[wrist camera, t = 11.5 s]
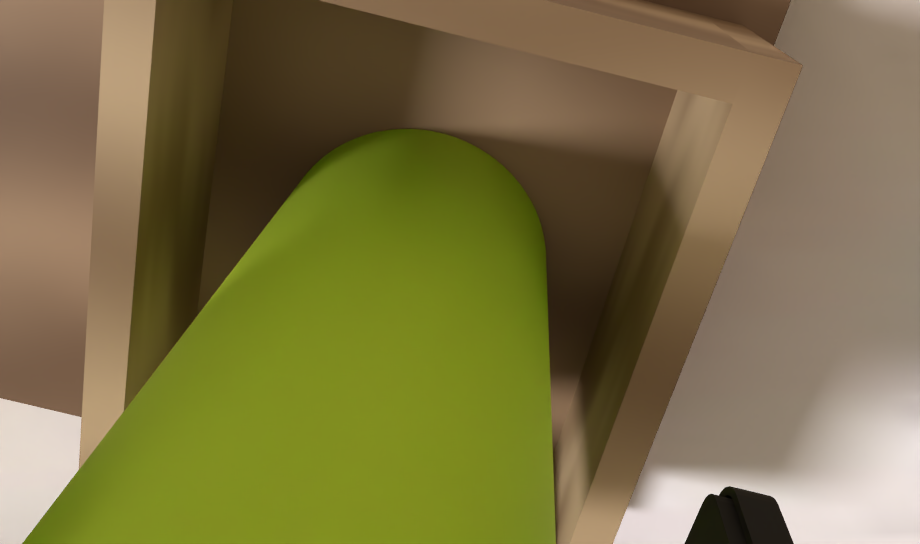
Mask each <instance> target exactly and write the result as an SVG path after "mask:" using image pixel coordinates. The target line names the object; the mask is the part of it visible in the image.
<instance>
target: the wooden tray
mask: <svg viewBox="0 0 920 544" xmlns="http://www.w3.org/2000/svg"><path fill="white" fill-rule="evenodd" d="M790 1H791V0H0V398H3V399H7V400H11V401H15V402H20V403H24V404H28V405H33V406H37V407H41V408H45V409H50V410H54V411H58V412H62V413H67V414H71V415H75V416H79V417H82V421H81V440H80V458H79V469H80V468H81V467H82V465H83V464H84V463H85V461H86V460H87V459H88V457H89V456H90V455H91V454H92V452H93V451H94V450H95V448H96V447H97V446H98V444H99V443H100V442H101V441H102V439H103V438H104V437H105V435H106V434H107V433H108V431H109V430H110V429H111V428H112V426H113V425H114V424H115V422H116V421H117V420H118V418H119V417H120V416H121V414H122V413H123V412H124V411H125V409H126V408H127V407H128V405H129V404H130V403H131V401H132V400H133V399H134V398H135V396H136V395H137V394H138V392H139V391H140V390H141V388H142V387H143V386H144V385H145V383H146V382H147V381H148V379H149V378H150V377H151V375H152V374H153V373H154V372H155V370H156V369H157V368H158V366H159V365H160V364H161V362H162V361H163V360H164V358H165V357H166V356H167V355H168V353H169V352H170V351H171V349H172V348H173V347H174V345H175V344H176V343H177V342H178V340H179V339H180V338H181V336H182V335H183V334H184V332H185V331H186V330H187V329H188V327H189V326H190V325H191V323H192V322H193V321H194V319H195V318H196V317H197V316H198V314H199V313H200V312H201V310H202V309H203V308H204V306H205V305H206V304H207V302H208V301H209V300H210V299H211V297H212V296H213V295H214V293H215V292H216V291H217V289H218V288H219V287H220V286H221V284H222V283H223V282H224V280H225V279H226V278H227V276H228V275H229V274H230V273H231V271H232V270H233V269H234V267H235V266H236V265H237V263H238V262H239V261H240V259H241V258H242V257H243V256H244V254H245V253H246V252H247V250H248V249H249V248H250V246H251V245H252V244H253V243H254V241H255V240H256V239H257V237H258V236H259V235H260V233H261V232H262V231H263V230H264V228H265V227H266V226H267V224H268V223H269V222H270V220H271V219H272V218H273V217H274V215H275V214H276V213H277V211H278V210H279V209H280V207H281V206H282V205H283V203H284V202H285V201H286V200H287V198H288V197H289V196H290V194H291V193H292V192H293V190H294V189H295V188H296V187H297V185H298V184H299V183H300V181H301V180H302V179H303V177H304V176H305V175H306V174H307V173H308V171H309V170H310V169H311V168H312V167H313V166H314V165H315V164H316V163H317V162H318V161H319V160H321V159H322V158H323V157H324V156H325V155H327V154H328V153H329V152H331V151H332V150H334V149H335V148H337V147H339V146H341V145H342V144H344V143H346V142H348V141H351V140H353V139H355V138H358V137H361V136H364V135H367V134H370V133H374V132H379V131H384V130H392V129H420V130H428V131H434V132H439V133H443V134H446V135H450V136H453V137H456V138H458V139H461V140H463V141H466V142H468V143H470V144H472V145H474V146H476V147H478V148H479V149H481V150H483V151H484V152H486V153H487V154H489V155H490V156H492V157H493V158H494V159H496V160H497V161H498V162H499V163H500V164H502V165H503V166H504V167H505V168H506V169H507V170H508V171H509V172H510V173H511V174H512V175H513V176H514V177H515V179H516V180H517V181H518V182H519V183H520V185H521V186H522V187H523V189H524V190H525V192H526V193H527V195H528V197H529V198H530V200H531V202H532V204H533V206H534V208H535V210H536V212H537V215H538V217H539V220H540V223H541V227H542V230H543V235H544V240H545V248H546V270H547V299H548V328H549V357H550V386H551V415H552V444H553V473H554V502H555V531H556V544H613V541H614V539H615V536H616V534H617V531H618V529H619V526H620V524H621V521H622V519H623V516H624V514H625V511H626V509H627V506H628V504H629V501H630V499H631V496H632V494H633V491H634V489H635V486H636V483H637V481H638V478H639V476H640V473H641V471H642V468H643V466H644V463H645V461H646V458H647V456H648V453H649V451H650V448H651V446H652V443H653V441H654V438H655V436H656V433H657V431H658V428H659V426H660V423H661V421H662V418H663V416H664V413H665V411H666V408H667V406H668V403H669V401H670V398H671V396H672V393H673V391H674V388H675V386H676V383H677V381H678V378H679V375H680V373H681V370H682V368H683V365H684V363H685V360H686V358H687V355H688V353H689V350H690V348H691V345H692V343H693V340H694V338H695V335H696V333H697V330H698V328H699V325H700V323H701V320H702V318H703V315H704V313H705V310H706V308H707V305H708V303H709V300H710V298H711V295H712V293H713V290H714V288H715V285H716V283H717V280H718V278H719V275H720V273H721V270H722V267H723V265H724V262H725V260H726V257H727V255H728V252H729V250H730V247H731V245H732V242H733V240H734V237H735V235H736V232H737V230H738V227H739V225H740V222H741V220H742V217H743V215H744V212H745V210H746V207H747V205H748V202H749V200H750V197H751V195H752V192H753V190H754V187H755V185H756V182H757V180H758V177H759V175H760V172H761V170H762V167H763V165H764V162H765V159H766V157H767V154H768V152H769V149H770V147H771V144H772V142H773V139H774V137H775V134H776V132H777V129H778V127H779V124H780V122H781V119H782V117H783V114H784V112H785V109H786V107H787V104H788V102H789V99H790V97H791V94H792V92H793V89H794V87H795V84H796V82H797V79H798V77H799V74H800V72H801V69H802V67H803V65H801V64H800V63H798V62H797V61H795V60H794V59H792V58H791V57H789V56H788V55H786V54H785V53H783V52H782V51H780V50H779V49H777V48H776V47H774V44H775V41H776V38H777V36H778V33H779V30H780V28H781V25H782V22H783V20H784V17H785V15H786V12H787V9H788V7H789V4H790Z"/></svg>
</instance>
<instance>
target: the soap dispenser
mask: <svg viewBox="0 0 920 544" xmlns="http://www.w3.org/2000/svg"><path fill="white" fill-rule="evenodd" d="M22 544H556V531H555V502H554V473H553V444H552V415H551V386H550V357H549V328H548V299H547V270H546V248H545V240H544V235H543V230H542V227H541V223H540V220H539V217H538V215H537V212H536V210H535V208H534V206H533V204H532V202H531V200H530V198H529V197H528V195H527V193H526V192H525V190H524V189H523V187H522V186H521V185H520V183H519V182H518V181H517V180H516V179H515V177H514V176H513V175H512V174H511V173H510V172H509V171H508V170H507V169H506V168H505V167H504V166H503V165H502V164H500V163H499V162H498V161H497V160H496V159H494V158H493V157H492V156H490V155H489V154H487V153H486V152H484V151H483V150H481V149H479V148H478V147H476V146H474V145H472V144H470V143H468V142H466V141H463V140H461V139H458V138H456V137H453V136H450V135H446V134H443V133H439V132H434V131H428V130H420V129H392V130H384V131H379V132H374V133H370V134H367V135H364V136H361V137H358V138H355V139H353V140H351V141H348V142H346V143H344V144H342V145H341V146H339V147H337V148H335V149H334V150H332V151H331V152H329V153H328V154H327V155H325V156H324V157H323V158H322V159H321V160H319V161H318V162H317V163H316V164H315V165H314V166H313V167H312V168H311V169H310V170H309V171H308V173H307V174H306V175H305V176H304V177H303V179H302V180H301V181H300V183H299V184H298V185H297V187H296V188H295V189H294V190H293V192H292V193H291V194H290V196H289V197H288V198H287V200H286V201H285V202H284V203H283V205H282V206H281V207H280V209H279V210H278V211H277V213H276V214H275V215H274V217H273V218H272V219H271V220H270V222H269V223H268V224H267V226H266V227H265V228H264V230H263V231H262V232H261V233H260V235H259V236H258V237H257V239H256V240H255V241H254V243H253V244H252V245H251V246H250V248H249V249H248V250H247V252H246V253H245V254H244V256H243V257H242V258H241V259H240V261H239V262H238V263H237V265H236V266H235V267H234V269H233V270H232V271H231V273H230V274H229V275H228V276H227V278H226V279H225V280H224V282H223V283H222V284H221V286H220V287H219V288H218V289H217V291H216V292H215V293H214V295H213V296H212V297H211V299H210V300H209V301H208V302H207V304H206V305H205V306H204V308H203V309H202V310H201V312H200V313H199V314H198V316H197V317H196V318H195V319H194V321H193V322H192V323H191V325H190V326H189V327H188V329H187V330H186V331H185V332H184V334H183V335H182V336H181V338H180V339H179V340H178V342H177V343H176V344H175V345H174V347H173V348H172V349H171V351H170V352H169V353H168V355H167V356H166V357H165V358H164V360H163V361H162V362H161V364H160V365H159V366H158V368H157V369H156V370H155V372H154V373H153V374H152V375H151V377H150V378H149V379H148V381H147V382H146V383H145V385H144V386H143V387H142V388H141V390H140V391H139V392H138V394H137V395H136V396H135V398H134V399H133V400H132V401H131V403H130V404H129V405H128V407H127V408H126V409H125V411H124V412H123V413H122V414H121V416H120V417H119V418H118V420H117V421H116V422H115V424H114V425H113V426H112V428H111V429H110V430H109V431H108V433H107V434H106V435H105V437H104V438H103V439H102V441H101V442H100V443H99V444H98V446H97V447H96V448H95V450H94V451H93V452H92V454H91V455H90V456H89V457H88V459H87V460H86V461H85V463H84V464H83V465H82V467H81V468H80V469H79V470H78V472H77V473H76V474H75V476H74V477H73V478H72V480H71V481H70V482H69V484H68V485H67V486H66V487H65V489H64V490H63V491H62V493H61V494H60V495H59V497H58V498H57V499H56V500H55V502H54V503H53V504H52V506H51V507H50V508H49V510H48V511H47V512H46V513H45V515H44V516H43V517H42V519H41V520H40V521H39V523H38V524H37V525H36V527H35V528H34V529H33V530H32V532H31V533H30V534H29V536H28V537H27V538H26V540H25V541H24V542H23V543H22Z"/></svg>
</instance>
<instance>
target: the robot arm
mask: <svg viewBox="0 0 920 544" xmlns="http://www.w3.org/2000/svg"><path fill="white" fill-rule="evenodd" d="M685 544H794V543H793V541H792V538H791V536H790V533H789V531H788V528H787V526H786V523H785V521H784V518H783V516H782V513H781V511H780V508H779V506H778V504H777V502H776V500H775V499H774V498H773V497H771V496H768V495H764V494H759V493H755V492H751V491H747V490H743V489H738V488H734V487H730V486H729V487H725V488H724V489H723V490H722V491H721V493H720V495H719V496H718V495H714V494H710V495H708V496H707V497H706V498H705V500H704V502H703V504H702V506H701V508H700V510H699V513H698V515H697V517H696V519H695V522H694V524H693V526H692V528H691V531H690V533H689V535H688V537H687V540H686V542H685Z"/></svg>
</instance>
